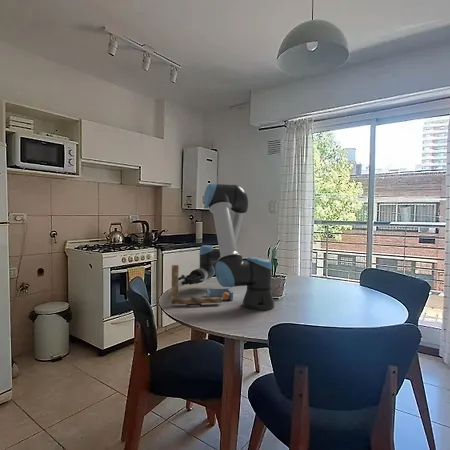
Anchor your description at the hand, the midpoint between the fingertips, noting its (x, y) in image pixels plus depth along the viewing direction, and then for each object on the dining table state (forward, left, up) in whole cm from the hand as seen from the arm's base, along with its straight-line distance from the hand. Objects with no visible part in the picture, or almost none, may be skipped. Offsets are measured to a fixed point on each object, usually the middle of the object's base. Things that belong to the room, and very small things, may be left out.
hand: (177, 284), depth 166 cm
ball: (-12, -23, -9) cm, 27 cm away
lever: (-9, -4, -8) cm, 13 cm away
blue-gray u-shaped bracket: (-8, -21, -9) cm, 25 cm away
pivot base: (-9, -3, -9) cm, 13 cm away
